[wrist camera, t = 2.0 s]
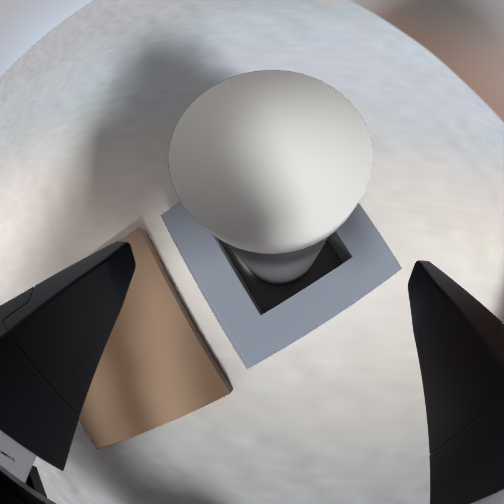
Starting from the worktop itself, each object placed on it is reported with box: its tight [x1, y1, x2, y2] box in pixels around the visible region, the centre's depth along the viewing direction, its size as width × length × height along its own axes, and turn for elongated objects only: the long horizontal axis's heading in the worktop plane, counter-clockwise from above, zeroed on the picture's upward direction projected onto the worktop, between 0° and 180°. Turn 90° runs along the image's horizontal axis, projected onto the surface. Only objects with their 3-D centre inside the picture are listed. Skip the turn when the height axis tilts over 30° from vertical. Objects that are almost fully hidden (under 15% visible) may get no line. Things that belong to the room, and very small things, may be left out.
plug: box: [168, 70, 373, 285], centre depth 13 cm, size 5×5×12 cm
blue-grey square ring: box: [161, 202, 402, 369], centre depth 17 cm, size 10×10×3 cm
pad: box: [79, 227, 233, 449], centre depth 18 cm, size 12×12×1 cm
